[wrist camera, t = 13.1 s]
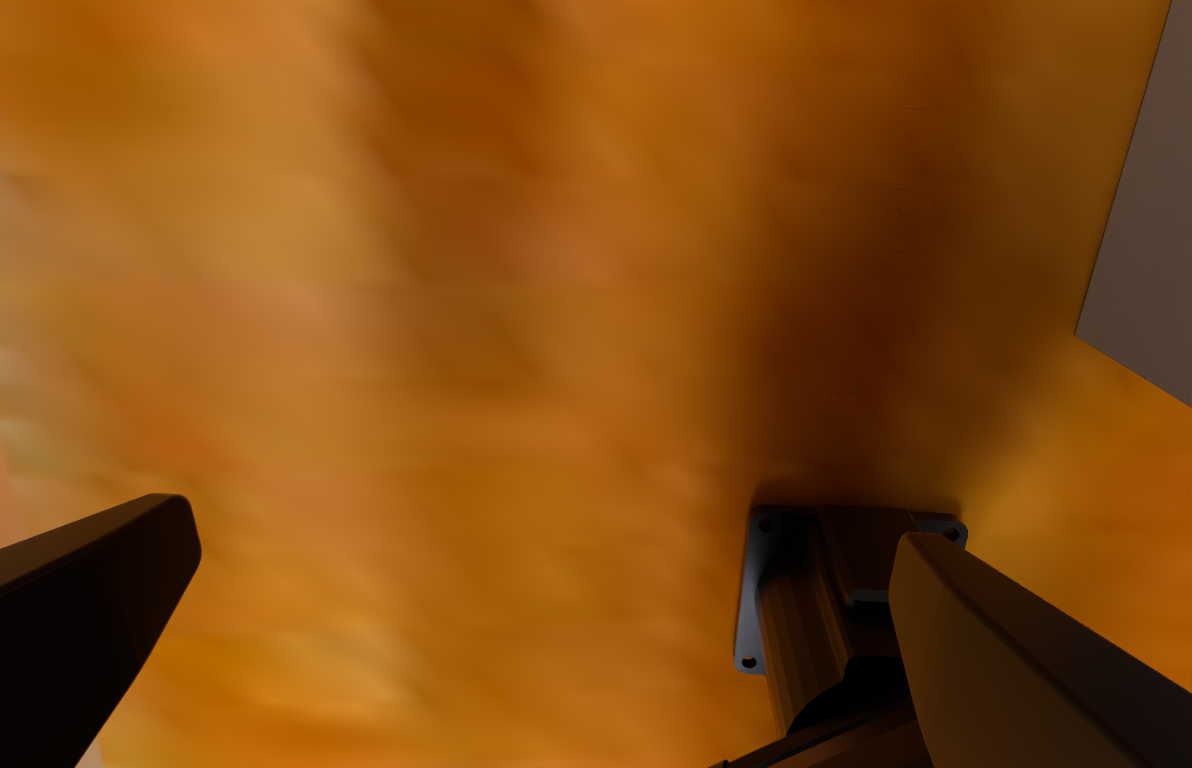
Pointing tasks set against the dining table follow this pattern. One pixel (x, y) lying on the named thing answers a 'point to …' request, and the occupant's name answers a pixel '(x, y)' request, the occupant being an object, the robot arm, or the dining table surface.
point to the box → (1152, 231)
